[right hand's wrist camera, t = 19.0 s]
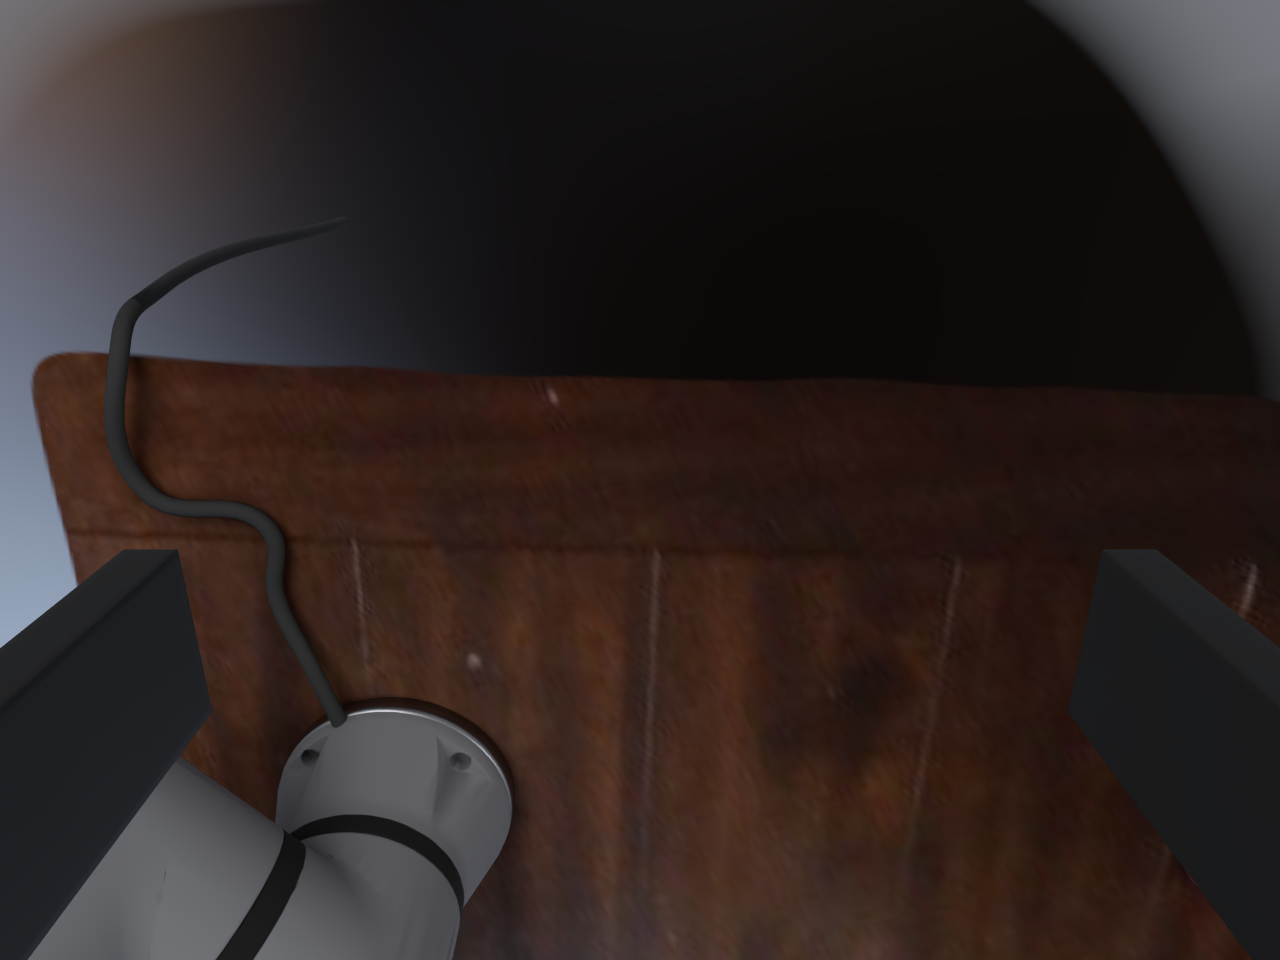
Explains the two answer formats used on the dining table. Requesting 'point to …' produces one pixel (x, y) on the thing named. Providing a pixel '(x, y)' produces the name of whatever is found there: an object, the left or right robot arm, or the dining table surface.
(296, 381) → the dining table surface
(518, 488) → the dining table surface
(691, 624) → the dining table surface
